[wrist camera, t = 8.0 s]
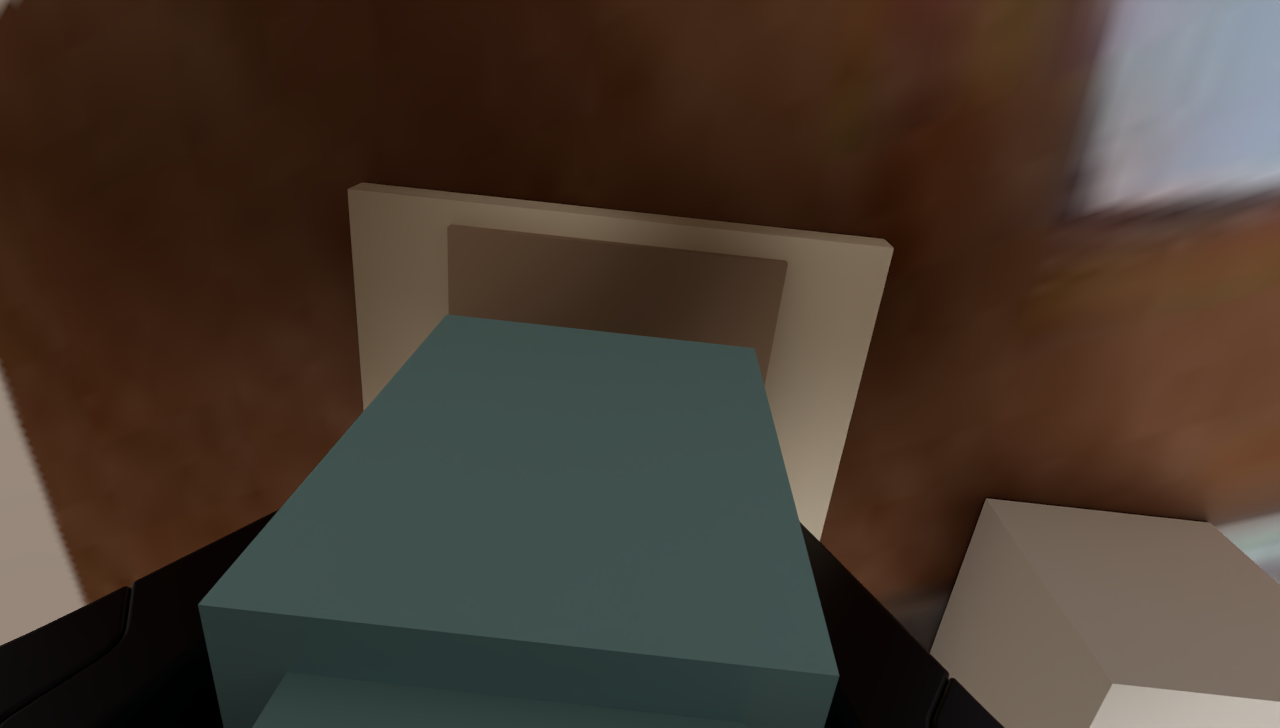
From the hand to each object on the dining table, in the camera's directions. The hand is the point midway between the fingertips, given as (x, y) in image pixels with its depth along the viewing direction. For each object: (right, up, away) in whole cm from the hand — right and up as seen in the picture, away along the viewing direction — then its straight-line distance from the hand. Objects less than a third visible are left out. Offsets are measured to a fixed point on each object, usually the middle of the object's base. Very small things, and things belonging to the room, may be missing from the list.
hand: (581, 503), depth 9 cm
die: (+10, -3, +6) cm, 12 cm away
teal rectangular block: (0, 0, +1) cm, 1 cm away
